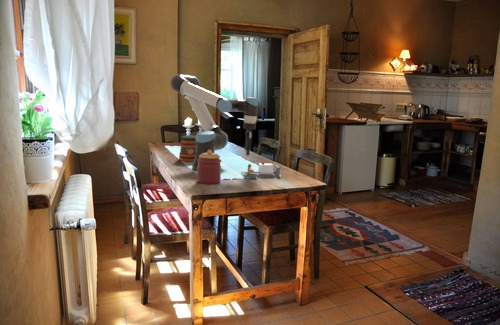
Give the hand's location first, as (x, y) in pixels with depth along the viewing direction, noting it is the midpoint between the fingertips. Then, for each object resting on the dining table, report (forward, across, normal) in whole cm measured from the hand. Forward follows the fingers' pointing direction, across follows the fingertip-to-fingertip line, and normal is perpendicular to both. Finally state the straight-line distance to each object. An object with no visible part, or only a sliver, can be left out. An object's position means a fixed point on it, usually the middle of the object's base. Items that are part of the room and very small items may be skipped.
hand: (247, 159), depth 242 cm
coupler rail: (+6, -15, -7) cm, 18 cm away
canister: (+7, -32, +25) cm, 41 cm away
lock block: (+6, -12, -10) cm, 17 cm away
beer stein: (+8, +31, +34) cm, 47 cm away
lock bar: (+5, -12, -1) cm, 13 cm away
